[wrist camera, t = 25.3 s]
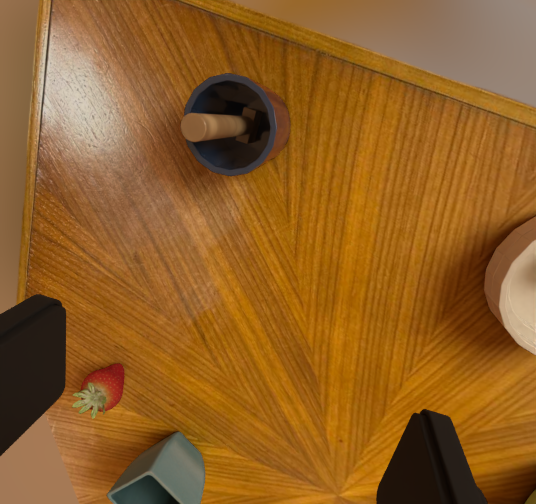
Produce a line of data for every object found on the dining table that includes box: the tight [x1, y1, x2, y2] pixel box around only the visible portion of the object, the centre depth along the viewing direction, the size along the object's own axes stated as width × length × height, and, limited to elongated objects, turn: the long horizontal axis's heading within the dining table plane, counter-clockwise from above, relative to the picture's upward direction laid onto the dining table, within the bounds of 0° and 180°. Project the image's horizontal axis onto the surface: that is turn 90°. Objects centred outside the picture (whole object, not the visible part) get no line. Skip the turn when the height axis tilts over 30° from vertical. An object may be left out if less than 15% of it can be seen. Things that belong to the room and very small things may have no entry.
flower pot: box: [107, 432, 205, 504], centre depth 49 cm, size 9×9×9 cm
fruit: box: [72, 364, 124, 419], centre depth 47 cm, size 5×5×8 cm
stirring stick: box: [180, 107, 263, 144], centre depth 28 cm, size 3×2×16 cm, turn 163°
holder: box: [184, 73, 291, 176], centre depth 32 cm, size 7×7×9 cm
